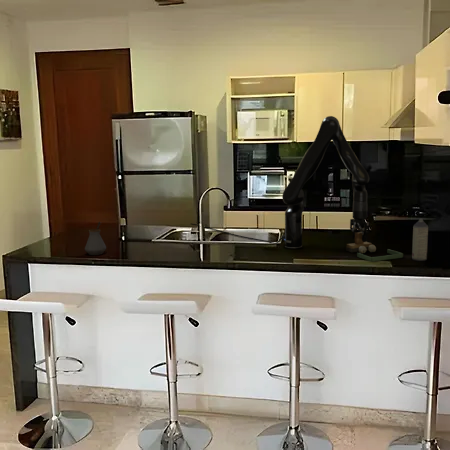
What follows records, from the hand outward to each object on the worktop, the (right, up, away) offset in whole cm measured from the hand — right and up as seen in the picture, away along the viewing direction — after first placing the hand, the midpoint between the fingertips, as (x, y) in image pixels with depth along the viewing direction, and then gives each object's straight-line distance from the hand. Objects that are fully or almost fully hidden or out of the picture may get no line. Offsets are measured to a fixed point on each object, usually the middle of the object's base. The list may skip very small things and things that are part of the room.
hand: (359, 239), depth 282 cm
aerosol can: (+24, -9, -21) cm, 33 cm away
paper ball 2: (+5, -4, -5) cm, 8 cm away
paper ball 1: (0, -5, -7) cm, 8 cm away
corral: (+6, -8, -14) cm, 18 cm away
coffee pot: (-141, -7, +13) cm, 142 cm away
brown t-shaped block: (0, -6, +1) cm, 6 cm away
